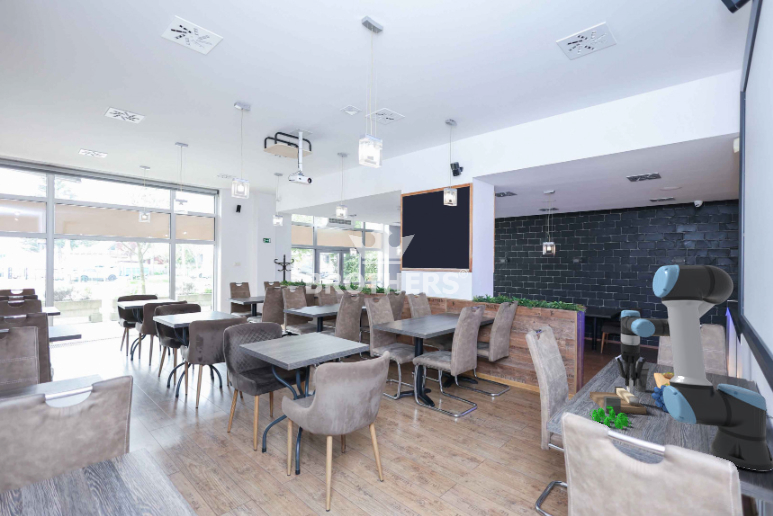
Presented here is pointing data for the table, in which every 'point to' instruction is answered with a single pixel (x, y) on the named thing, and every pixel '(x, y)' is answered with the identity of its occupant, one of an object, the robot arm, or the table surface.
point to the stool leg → (627, 396)
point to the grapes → (659, 397)
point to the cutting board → (663, 378)
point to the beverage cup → (642, 378)
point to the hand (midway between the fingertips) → (629, 393)
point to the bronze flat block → (615, 403)
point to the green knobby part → (610, 417)
